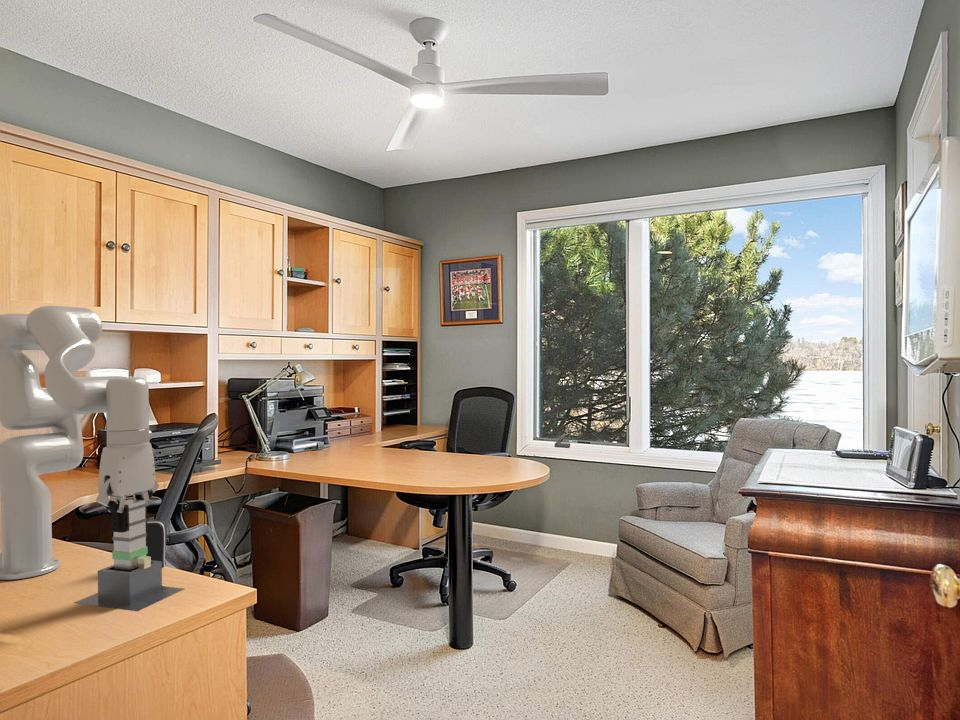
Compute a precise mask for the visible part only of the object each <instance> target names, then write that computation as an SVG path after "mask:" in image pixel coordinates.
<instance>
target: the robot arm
mask: <svg viewBox="0 0 960 720" xmlns="http://www.w3.org/2000/svg"><path fill="white" fill-rule="evenodd" d="M102 332H103V322H102V320H101V318H100V316H99V315H98V313H96V312H95V311H93V309H90V308H85V307H76V306H63V305H61V306H60V305H45V306H40V307H37V308H34V309H33V310H31V311H30V312H29V313H3V314H0V424H1V425H2V427H3V428H5V429H6V430H10V431H25V430H27V431H28V430H38V429H47V428H48V429H49V428H50V429H51V430H52V432H50V433H37V434H27V435H26V434H25V435H19V436H15V437H9V438H8V439H5V440H3V441H2V442H0V522H1V524H0V525H1V526H0V527H1V528H0V533H1V534H0V535H1V537H0V538H1V552H0V580H2V581H3V580H4V581H8V580H9V581H11V580H21V579H28V578H32V577H37V576H41V575H45V574H47V573H48V574H49V573H50V572H53V571H55V570H57V569H58V568H59V567H60V566H61V560H60V559H58V558H56V557H53V533H52V531H53V530H52V529H53V528H52V527H53V525H52V523H53V520H52V517H53V516H52V493H51V491H50V488H49V487H48V486H47V485H46V483H44V481H43V480H42V479H41V478H40V476H41V475H45V474H46V475H47V474H52V473H57V472H66V471H71V470H73V469H76V468H77V467H79V466H80V464H81V463H82V461H83V459H84V452H85V451H84V450H85V449H84V442H83V441H84V439H83V431H82V424H81V416H80V415H86V414H87V415H88V414H89V415H90V414H101V413H103V414H104V413H106V417H105V418H106V446H105V447H103V448H102V452H101V456H100V462H99V470H98V471H99V472H98V495H97V496H96V499H95V500H96V503H98V504H101V505H102V506H103V507H105V509H107V511H108V513H110V516H111V518H110V519H111V532H113V533H114V532H121V533H123V532H126V530H127V526H126V523H127V517H126V512H123V511H124V505H125V501H126V500H127V499H126V498H127V497H128V496H132V497H133V500H145V504H146V507H145V518H147V519H148V506H149V505H150V501H151V499H152V498H153V495H154V493H155V492H156V491H157V490H158V489H159V488H160V485H159V483H158V481H157V480H156V468H155V457H154V451H153V447H152V443H151V442H150V436H152V430H151V429H150V416H149V415H150V414H149V413H150V412H149V411H150V408H149V406H150V404H149V403H150V400H149V397H150V396H149V391H150V390H149V389H150V388H149V382H148V381H147V379H145V378H144V377H138V376H137V377H134V376H133V377H130V376H128V377H127V376H121V375H120V376H119V375H116V376H115V375H114V376H113V375H112V376H109V375H108V376H80V377H79V376H77V377H76V376H74V375H72V373H74V372H75V373H76V371H79V370H81V369H83V368H84V367H86V366H87V365H88V364H90V362H92V360H93V358H94V356H95V353H96V347H95V345H94V344H95V343H96V342H98V340H99V339H100V338H101V336H102ZM23 351H43V352H44V354H45V355H46V356H47V357H48V359H49V360H48V361H47V364H46V366H45V369H44V384H45V388H42V386H41V381H40V372H39V370H38V367H37V365H36V364H35V363H34V362H33V360H31V359H30V357H28V356H27V355H26V354H25V353H24V352H23ZM117 500H118V501H117ZM117 503H118V504H117ZM147 521H148V520H147ZM147 521H146V525H147Z"/></svg>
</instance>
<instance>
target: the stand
mask: <svg viewBox="0 0 960 720" xmlns="http://www.w3.org/2000/svg"><path fill="white" fill-rule="evenodd" d="M162 574H163V568H162V561H153V560H151V557H150V556H143V557H140V558H138V567H137V568H134V569H132V570H123V569H114V564H113V565H110V566H106V567H104V568H102V569H99V570H97V592H96V593H95V594H92V595H89V596H87V597H84V598H81V599H79V600H77V601H75V602H73V603H74V604H78V605H86V606H87V605H88V606H94V607H101V608H109V609H117V610H125V611H132V612H139V611H141V610H144V609H146V608H149V606H152V605H154V604H156V603H159V602H161V601H162V600H165V599H167V598H170V597H171V596H174V595H175V594H177V593H180V592H182V591H184V590H185V588H183V587H182V588H181V587H174V586H163V575H162Z"/></svg>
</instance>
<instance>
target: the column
mask: <svg viewBox="0 0 960 720" xmlns="http://www.w3.org/2000/svg"><path fill="white" fill-rule="evenodd" d="M116 503H117V504H118V502H116ZM145 507H146V504H145V500H134V499H125V505H124V511H123V512H126V517H127V523H126V526H127V530H126V532H123V533H121V532H113V536H112V541H113V550H112V553H111V556H112V557H111V559H112V560H113V565H114V569H123V570H132V569H134V568H137V567H138V558H140V557H143V556H146V554H148V549H147V546H146V536H147V533H146V521H148V517H147V518H145Z"/></svg>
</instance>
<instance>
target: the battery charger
mask: <svg viewBox="0 0 960 720" xmlns="http://www.w3.org/2000/svg"><path fill="white" fill-rule="evenodd" d="M167 527H168V526H167V524H166V522H165V521H163V520H158V519H157V520H147V525H146V533H147V536H146V546H147V549H148V554H146V556H150V557H151V560H153V561H162V569H163V568H164V567H165V566H166V564H167V563H166V544H167V542H168V529H167Z"/></svg>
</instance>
